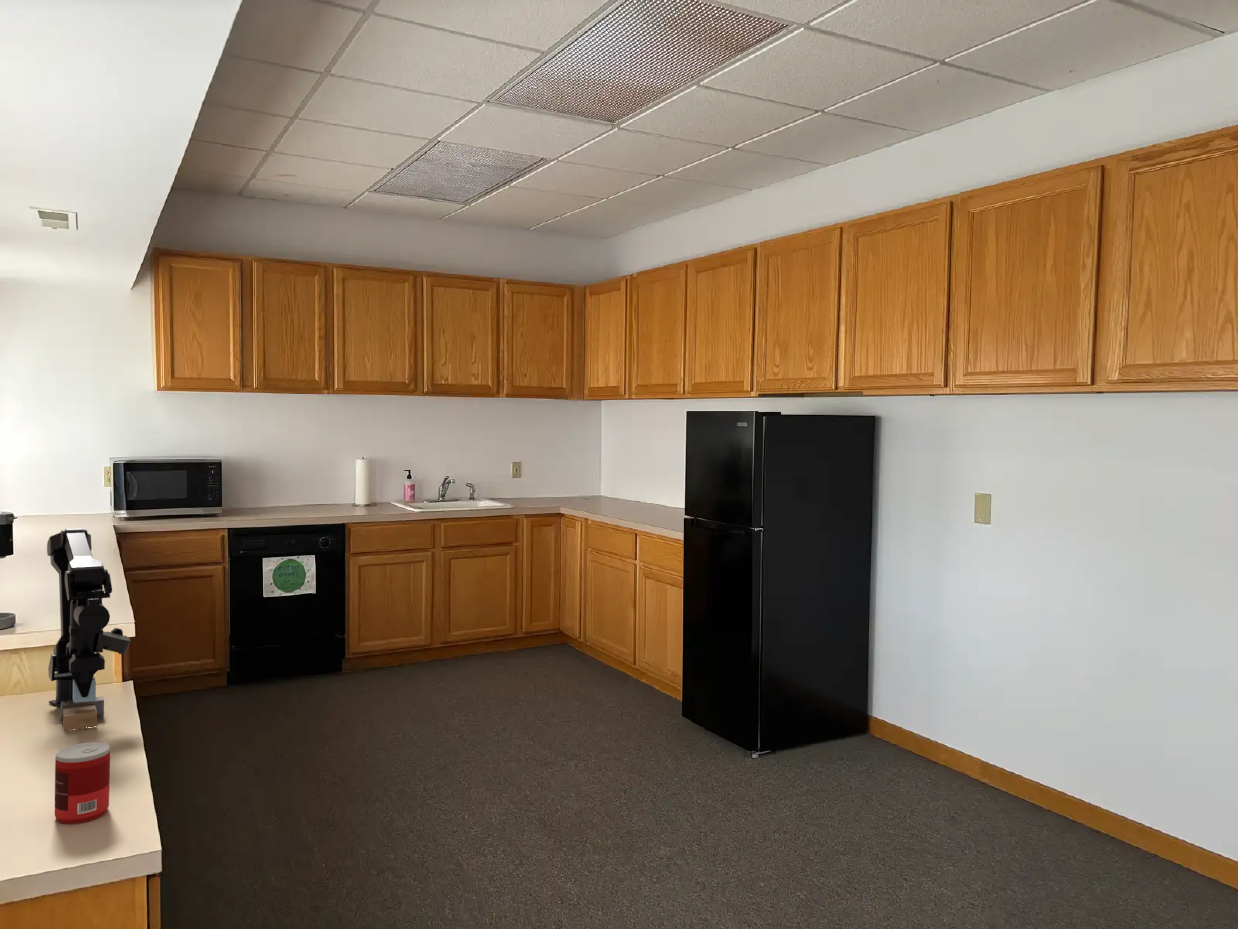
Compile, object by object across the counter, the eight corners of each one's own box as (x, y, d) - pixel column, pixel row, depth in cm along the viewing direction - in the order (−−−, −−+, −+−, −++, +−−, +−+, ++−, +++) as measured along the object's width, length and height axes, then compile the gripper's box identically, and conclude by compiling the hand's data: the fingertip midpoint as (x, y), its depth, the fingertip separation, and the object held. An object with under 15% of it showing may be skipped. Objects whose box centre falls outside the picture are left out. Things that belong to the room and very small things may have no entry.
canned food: (119, 806, 153) (120, 743, 153) (86, 826, 145) (88, 760, 145) (77, 803, 154) (78, 740, 153) (43, 823, 146) (44, 757, 145)
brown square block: (62, 724, 193) (62, 708, 193) (94, 720, 196) (95, 704, 196) (63, 733, 188) (64, 716, 188) (96, 728, 191) (96, 712, 191)
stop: (60, 719, 195) (60, 701, 195) (102, 714, 199) (103, 696, 199) (61, 723, 192) (61, 705, 192) (103, 718, 197) (104, 700, 197)
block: (72, 697, 193) (73, 679, 193) (94, 695, 195) (94, 677, 195) (73, 702, 189) (74, 684, 189) (95, 700, 192) (95, 682, 192)
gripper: (132, 628, 188) (131, 701, 189) (123, 611, 204) (122, 678, 204) (71, 633, 182) (69, 708, 183) (66, 615, 198) (65, 685, 198)
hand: (84, 694), depth 192 cm, fingers closed on block, 4 cm apart
